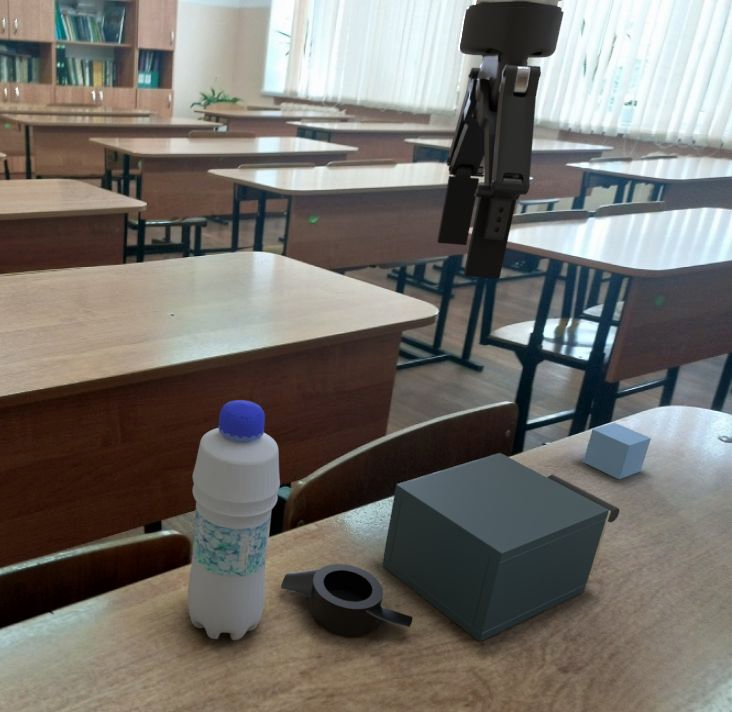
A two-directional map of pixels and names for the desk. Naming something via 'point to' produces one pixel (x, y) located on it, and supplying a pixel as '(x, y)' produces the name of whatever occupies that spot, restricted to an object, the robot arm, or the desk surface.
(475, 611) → the cabinet
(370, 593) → the black winged ring
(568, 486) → the drawer
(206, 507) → the bottle
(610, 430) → the soap block
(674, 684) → the desk surface
